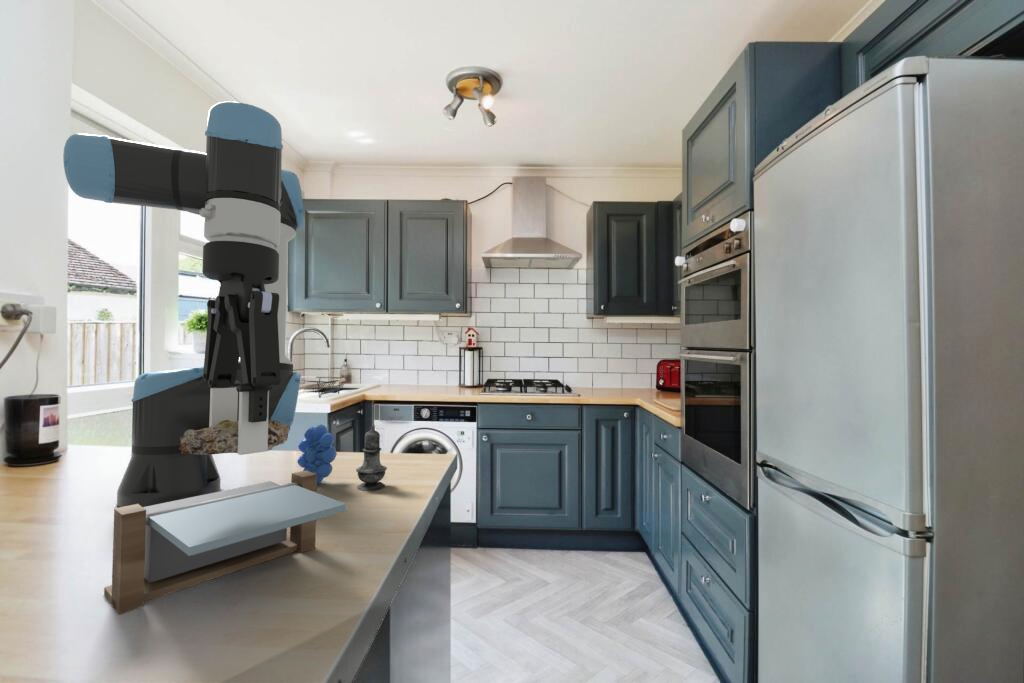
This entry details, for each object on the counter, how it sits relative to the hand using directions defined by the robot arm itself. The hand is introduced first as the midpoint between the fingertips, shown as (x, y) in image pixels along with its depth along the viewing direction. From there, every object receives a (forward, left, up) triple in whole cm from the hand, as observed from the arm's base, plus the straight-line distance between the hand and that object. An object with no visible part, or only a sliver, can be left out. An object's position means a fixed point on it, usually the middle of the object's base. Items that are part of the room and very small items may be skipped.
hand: (237, 447), depth 53 cm
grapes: (-32, +29, -16) cm, 46 cm away
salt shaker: (-22, +34, -16) cm, 44 cm away
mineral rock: (0, 0, 0) cm, 0 cm away
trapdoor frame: (-7, +1, -16) cm, 17 cm away
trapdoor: (-2, +1, -15) cm, 15 cm away
